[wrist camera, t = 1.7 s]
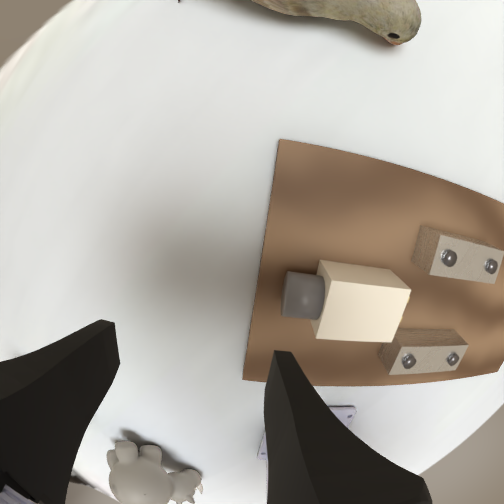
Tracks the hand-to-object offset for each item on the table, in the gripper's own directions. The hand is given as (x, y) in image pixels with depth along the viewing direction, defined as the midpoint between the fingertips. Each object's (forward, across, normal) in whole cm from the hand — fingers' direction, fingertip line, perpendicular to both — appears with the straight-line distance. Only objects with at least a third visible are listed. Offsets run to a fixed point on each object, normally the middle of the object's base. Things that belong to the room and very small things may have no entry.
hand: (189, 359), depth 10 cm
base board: (+9, -17, 0) cm, 19 cm away
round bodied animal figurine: (+10, +5, +26) cm, 28 cm away
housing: (+8, -16, 0) cm, 18 cm away
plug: (+8, -8, 0) cm, 12 cm away
